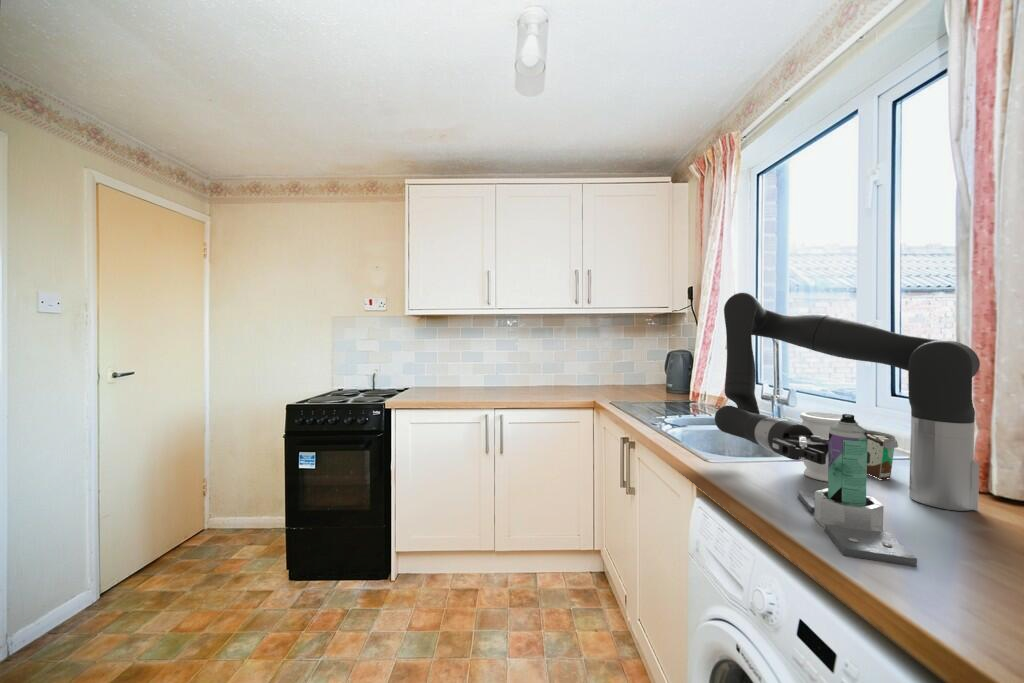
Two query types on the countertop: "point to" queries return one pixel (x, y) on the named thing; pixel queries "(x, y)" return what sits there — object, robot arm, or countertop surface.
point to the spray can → (847, 462)
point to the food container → (880, 453)
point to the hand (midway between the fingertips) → (846, 458)
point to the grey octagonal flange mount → (857, 528)
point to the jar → (820, 427)
